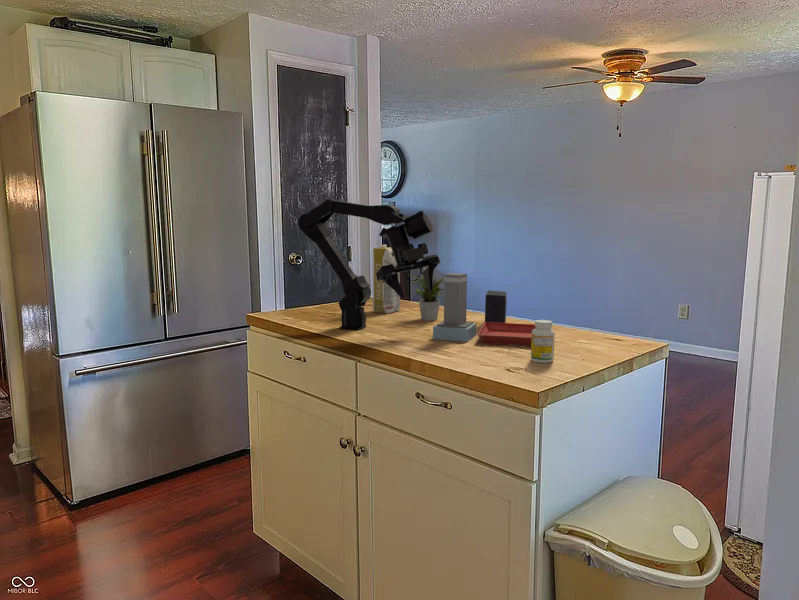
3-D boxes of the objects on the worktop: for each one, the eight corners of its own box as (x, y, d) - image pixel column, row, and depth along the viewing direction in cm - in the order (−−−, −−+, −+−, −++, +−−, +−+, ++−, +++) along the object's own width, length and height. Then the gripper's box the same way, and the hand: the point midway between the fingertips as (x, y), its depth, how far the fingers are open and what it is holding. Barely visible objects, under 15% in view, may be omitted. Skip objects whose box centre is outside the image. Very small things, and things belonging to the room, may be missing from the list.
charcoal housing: (443, 323, 170) (444, 274, 168) (452, 321, 174) (452, 272, 172) (458, 325, 168) (458, 275, 166) (466, 322, 172) (467, 273, 170)
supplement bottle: (547, 364, 141) (548, 324, 139) (526, 360, 144) (527, 321, 143) (557, 360, 145) (559, 321, 143) (537, 356, 148) (538, 318, 147)
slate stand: (432, 339, 169) (433, 325, 168) (443, 332, 178) (443, 319, 177) (467, 341, 165) (467, 327, 165) (476, 335, 174) (476, 321, 174)
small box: (505, 329, 184) (506, 295, 182) (483, 328, 185) (484, 294, 183) (506, 323, 194) (507, 290, 192) (486, 322, 195) (486, 290, 194)
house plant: (397, 321, 196) (397, 271, 194) (412, 314, 209) (413, 267, 206) (438, 324, 191) (439, 273, 188) (452, 317, 203) (452, 269, 201)
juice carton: (385, 308, 221) (385, 243, 218) (402, 311, 217) (403, 244, 213) (369, 312, 214) (369, 244, 210) (387, 314, 209) (387, 245, 206)
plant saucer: (545, 349, 158) (546, 337, 157) (476, 345, 162) (477, 333, 162) (546, 335, 175) (546, 324, 175) (484, 332, 180) (484, 321, 179)
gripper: (380, 240, 165) (397, 293, 162) (438, 229, 173) (456, 279, 170) (368, 255, 175) (385, 305, 172) (424, 243, 183) (441, 291, 180)
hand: (417, 295), depth 173 cm, fingers open, 9 cm apart
